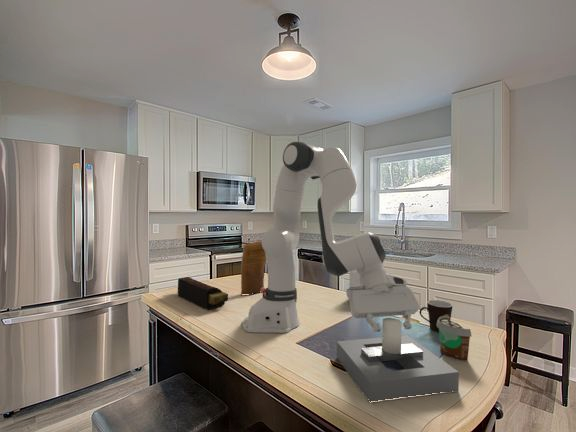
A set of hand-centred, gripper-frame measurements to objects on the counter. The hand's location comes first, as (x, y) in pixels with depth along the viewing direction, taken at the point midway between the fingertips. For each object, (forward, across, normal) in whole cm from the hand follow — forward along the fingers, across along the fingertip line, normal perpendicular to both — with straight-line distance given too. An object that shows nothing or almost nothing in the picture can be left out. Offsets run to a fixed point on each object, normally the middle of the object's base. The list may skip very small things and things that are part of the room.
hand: (393, 329), depth 82 cm
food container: (+4, +24, +14) cm, 28 cm away
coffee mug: (-9, +33, +27) cm, 44 cm away
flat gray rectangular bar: (+5, 0, +6) cm, 7 cm away
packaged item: (-46, -59, +64) cm, 98 cm away
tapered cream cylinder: (+4, 0, +5) cm, 6 cm away
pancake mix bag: (-52, -31, +70) cm, 93 cm away
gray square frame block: (+8, 0, +9) cm, 12 cm away
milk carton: (-36, +18, +54) cm, 67 cm away
